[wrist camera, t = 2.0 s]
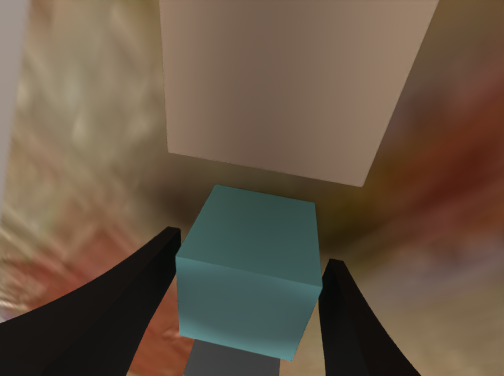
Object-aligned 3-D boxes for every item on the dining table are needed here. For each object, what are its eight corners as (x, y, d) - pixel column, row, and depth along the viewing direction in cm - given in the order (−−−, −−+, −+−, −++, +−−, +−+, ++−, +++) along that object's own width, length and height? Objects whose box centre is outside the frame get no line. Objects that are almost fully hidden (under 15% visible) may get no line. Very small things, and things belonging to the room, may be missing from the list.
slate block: (282, 308, 17) (277, 397, 13) (271, 346, 20) (263, 431, 16) (210, 293, 18) (183, 375, 13) (208, 332, 20) (185, 412, 16)
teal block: (314, 202, 13) (322, 287, 8) (293, 270, 15) (291, 361, 11) (215, 183, 13) (175, 256, 9) (212, 253, 16) (179, 335, 11)
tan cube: (384, -31, 8) (481, -105, 4) (336, 125, 11) (362, 187, 6) (226, -50, 8) (151, -139, 4) (218, 106, 11) (167, 152, 7)
